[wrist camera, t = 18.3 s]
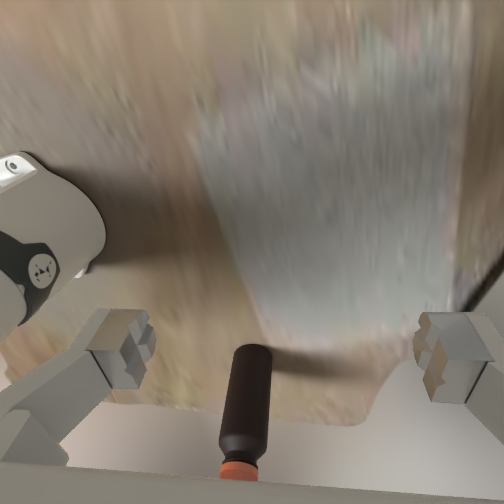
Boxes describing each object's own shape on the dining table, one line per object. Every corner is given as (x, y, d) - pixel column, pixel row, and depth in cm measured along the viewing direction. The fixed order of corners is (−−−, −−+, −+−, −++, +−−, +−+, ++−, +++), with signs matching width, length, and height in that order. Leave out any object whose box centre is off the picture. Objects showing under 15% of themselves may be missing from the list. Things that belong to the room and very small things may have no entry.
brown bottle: (280, 360, 57) (275, 494, 41) (250, 372, 60) (234, 502, 44) (256, 338, 54) (240, 473, 38) (226, 351, 57) (199, 482, 41)
